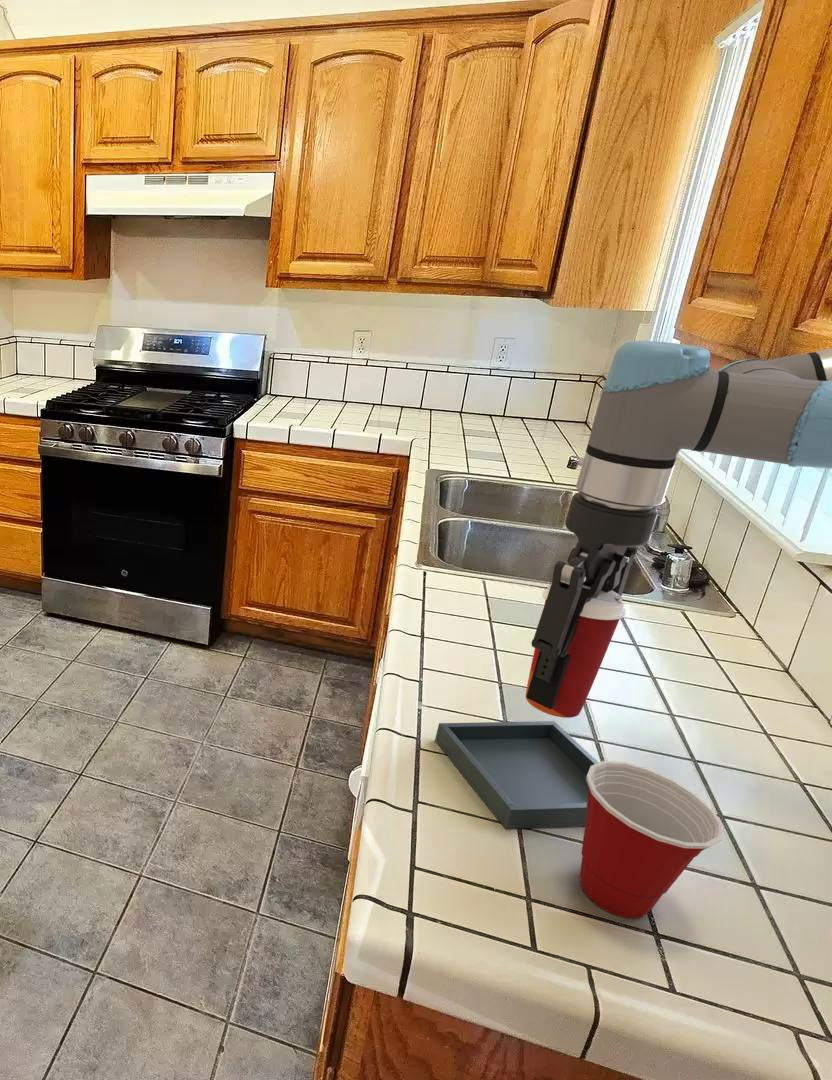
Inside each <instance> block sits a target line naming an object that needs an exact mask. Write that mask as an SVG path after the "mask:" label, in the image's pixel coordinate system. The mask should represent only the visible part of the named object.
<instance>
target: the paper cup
mask: <svg viewBox="0 0 832 1080" xmlns="http://www.w3.org/2000/svg"><path fill="white" fill-rule="evenodd" d="M550 587H551V584H549V585H548V586H547V587H546V589H545V590H542V592H541V596H542V598H543V599H545V600H544V605H545V602H546V599H547V596H548V593H549V590H550ZM583 587H584V588H587V589H591V588H590V587H587V586H584V585H583ZM544 605H543V606H544ZM626 614H627V612H626V609H625V607H624V603H623V597H622V596H620V595H619V594H617V593H616V592H614V591H610V592H608V593H606V592H604V591H600V593H599V595H598V597H597V598H593V599H591V600H590V601H589V602H587V603H585V605H584V608H583V610H582V613H581V614H580V616H581V617H580V620H579V624H578V627H577V630H576V633H575V636H574V638H573V640H572V642H571V645H570V647H569V649H568V651H567V654H568V655H570V658H569V661H568V664H567V668H566V671H565V674H564V677H563V680H562V684H561V687H560V690H559V693H558V696H557V700H556V703H555V706H554V708H552V709H551V710H550V709H548V708H546V707H544V706H542V705H540V704H538V703H536V702H534V701H532V700H530V699H528V698H526V696H527V692H528V689H529V686H530V682H531V679H532V676H533V672H534V669H535V665H536V662H537V659H538V655H539V652H540V650H539V649H536V648H534V650H533V655H532V660H531V664H530V670H529V674H528V679H527V684H526V690H525V700H526V701H527V703H528V704H529V705H530V706H532V707H533V708H535V709H537V710H538V711H540V712H542V713H545V714H546V715H549V716H554V717H558V718H565V719H566V718H567V719H568V718H569V719H571V718H576V717H578V716H579V715H580V714H581V712H582V710H583V708H584V706H585V703H586V701H587V699H588V696H589V694H590V692H591V689H592V687H593V685H594V682H595V680H596V677H597V675H598V673H599V670H600V668H601V665H602V663H603V661H604V659H605V656H606V654H607V651H608V648H609V646H610V644H611V642H612V639H613V636H614V634H615V632H616V630H617V627H618V624H619V622H620V620H621V619H623V618H624V617H625V616H626Z"/></svg>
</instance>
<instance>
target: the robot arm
mask: <svg viewBox="0 0 832 1080" xmlns="http://www.w3.org/2000/svg"><path fill="white" fill-rule="evenodd" d="M710 360H711V352H710V350H709V349H708V348H706V347H703V346H699V345H692V344H684V343H675V342H668V341H655V340H654V341H653V340H632V341H629V342H625V343H624V344H622V345H621V346H620V347H618V348H617V350H616V352H615V354H614V355H613V359H612V362H611V365H610V368H609V371H608V374H607V376H606V379H605V383H604V384H603V386H602V391H601V394H600V397H599V401H598V406H597V408H596V413H595V417H594V419H593V423H592V427H591V431H590V434H589V439H588V442H587V445H586V450H585V454H584V455H583V456H584V457H580V458H579V459H578V460H577V464H578V466H579V467H580V470H579V474H578V477H577V481H576V485H575V488H576V489H577V492H576V493H575V494H573V495H572V496H571V500H570V503H569V507H568V510H567V514H566V517H565V521H564V525H565V527H566V530H568V531H569V532H570V533H573V534H574V535H575V536H576V538H577V539H578V541H577V542H576V545H575V547H573V548H572V549H571V551H570V553H569V555H568V558H567V563H566V562H564V561H561V560H558V561H557V562H556V563H555V564H554V568H553V574H552V580H551V584H550V585H551V587H550V590H549V593H548V596H547V599H545V600H546V602H545V601H544V604H545V605H543V609H542V612H541V614H540V618H539V622H538V623H537V627H536V630H535V632H534V636H533V639H532V640H531V647H532V648H534V649H535V648H536V649H539V650H540V652H539V655H538V659H537V662H536V665H535V669H534V672H533V676H532V679H531V682H530V686H529V689H528V692H527V696H526V695H525V699H526V698H528V699H530V700H532V701H534V702H536V703H538V704H540V705H542V706H544V707H546V708H548V709H550V710H551V709H552V708H554V706H555V703H556V700H557V696H558V693H559V690H560V687H561V684H562V680H563V677H564V674H565V671H566V668H567V664H568V661H569V658H570V655H568V654H567V651H568V649H569V647H570V645H571V642H572V640H573V638H574V636H575V633H576V630H577V627H578V624H579V620H580V617H581V616H580V614H581V613H582V610H583V608H584V605H585V603H587V602H589V601H590V600H591V599H593V598H597V597H598V595H599V593H600V591H604V592H606V593H608V592H610V591H614V592H616V593H617V594H619V595H620V596H621V597H622V596H623V592H624V589H625V586H626V583H627V579H628V576H629V573H630V570H631V566H632V564H633V562H634V560H635V557H636V555H637V553H638V547H641V546H644V545H646V544H647V543H648V542H649V541H650V539H651V537H652V533H653V530H654V527H655V524H656V521H657V518H658V515H659V512H658V510H657V508H656V507H657V506H660V505H661V504H663V501H664V499H665V496H666V492H667V489H668V487H669V485H670V484H669V483H670V480H671V477H672V473H673V471H674V468H675V464H676V461H677V458H678V455H679V453H680V451H681V450H688V451H692V452H698V453H701V452H702V453H709V454H714V455H715V454H716V455H721V456H722V455H723V456H729V457H736V458H741V459H749V460H755V461H763V462H768V463H774V464H781V465H788V467H789V468H790V467H791V468H797V467H804V468H805V467H806V468H817V469H825V470H828V469H829V470H831V469H832V347H831V348H826V349H825V348H824V349H820V350H814V351H812V352H807V353H799V354H793V355H788V356H782V357H776V358H771V359H766V358H755V357H753V358H748V359H741V360H737V361H733V362H731V363H728V364H726V365H724V366H722V367H721V368H719V369H713V368H711V363H710ZM583 585H584V586H587V587H590V588H591V589H587V588H584V587H583Z"/></svg>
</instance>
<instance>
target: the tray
mask: <svg viewBox="0 0 832 1080" xmlns="http://www.w3.org/2000/svg"><path fill="white" fill-rule="evenodd" d="M434 741H435V742H436V744H437V745H438V746H439V747H440V749H441V750H442V752H444V754H445V755H446V756H447V757H448V759H449V760H450V761H451V762H452V764H453V765H454V766H455V767H456V769H457V770H458V771H459V773H461V775H462V776H463V778H464V779H465V780H466V781H467V783H468V784H469V785H470V786H471V787H472V789H473V790H474V791H475V793H476V794H477V795H478V797H479V798H480V799H481V800H482V801H483V802H484V804H485V805H486V806H487V808H488V809H489V810H490V811H491V813H492V814H493V815H494V816H495V818H496V819H497V820H498V822H499V823H500V824H501V825H502V826H503V828H504V829H505V830H515V829H517V830H518V829H519V830H521V829H542V828H543V829H547V828H548V829H549V828H576V827H577V828H578V827H585V823H586V815H587V802H588V791H589V789H588V787H589V786H588V783H587V781H586V779H587V774H588V772H589V769H590V767H591V766H592V765H594V764H597V763H600V761H598V760H597V759H596V758H595V757H594V756H593V755H592V754H591V753H589V752H588V750H587V749H585V748H584V747H583V746H582V745H581V744H580V743H578V741H576V740H575V738H573V737H572V736H571V735H570V734H569V733H568V732H567V731H566V730H565V729H563V728H562V727H561V725H559V724H558V723H557V722H556V721H555V720H543V721H540V720H539V721H538V720H537V721H536V720H535V721H491V722H490V721H489V722H488V721H487V722H486V721H485V722H483V721H481V722H439V723H438V726H437V730H436V734H435V738H434Z"/></svg>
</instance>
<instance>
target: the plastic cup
mask: <svg viewBox="0 0 832 1080" xmlns="http://www.w3.org/2000/svg"><path fill="white" fill-rule="evenodd" d="M586 781H587V783H588V786H589V787H588V789H589V791H588V802H587V815H586V823H585V826H584V830H583V838H582V846H581V863H580V864H581V865H580V870H579V879H580V881H579V882H580V886H581V889H582V891H583V892H584V894H585V895H586V896H587V897H588V899H589V900H590V901H591V902H592V903H594V904H595V905H597V906H598V907H599V908H601V910H604V911H607V912H609V913H610V914H612V915H614V916H618V917H622V918H625V919H640V918H643V917H644V916H646V915H647V914H648V913H649V912H651V911H652V909H653V908H654V907H655V906H656V904H657V903H658V901H659V900H660V899H661V897H662V896H663V895H664V894H666V893H667V892H668V891H669V889H670V888H671V887H672V886H673V884H674V883H675V882H676V881H677V880H678V878H679V877H680V876H681V875H682V873H683V872H684V871H685V869H686V868H687V867H688V866H689V865H690V863H691V862H692V861H693V860H694V859H695V858H696V857H697V856H699V855H700V853H702V852H703V851H705V850H707V849H709V848H712V846H714V845H717V844H718V843H720V842H722V841H723V839H724V830H725V826H724V825H723V823H722V822H721V820H720V818H719V816H718V815H717V813H716V811H715V810H714V809H713V808H712V807H711V806H710V805H708V804H707V803H706V802H705V801H704V800H703V799H702V798H701V797H700V796H699V795H697V793H695V792H693V791H692V790H690V789H688V788H687V787H685V786H684V785H682V784H680V783H679V782H677V781H676V780H674V779H673V778H671V777H668V776H666V775H663V774H661V773H659V772H657V771H655V770H652V769H650V768H648V767H644V766H640V765H638V764H633V763H629V762H626V761H615V760H614V761H613V760H601V761H599V763H597V764H594V765H592V766H591V767H590V769H589V772H588V774H587V779H586Z"/></svg>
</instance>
